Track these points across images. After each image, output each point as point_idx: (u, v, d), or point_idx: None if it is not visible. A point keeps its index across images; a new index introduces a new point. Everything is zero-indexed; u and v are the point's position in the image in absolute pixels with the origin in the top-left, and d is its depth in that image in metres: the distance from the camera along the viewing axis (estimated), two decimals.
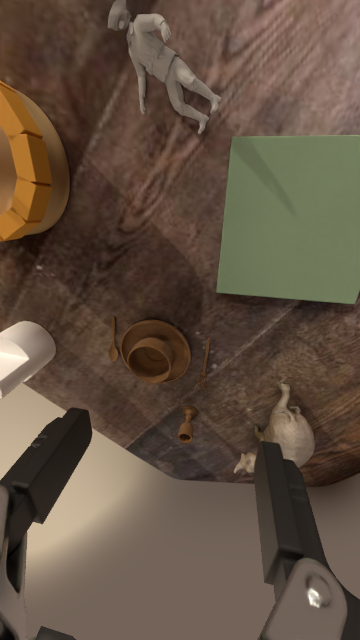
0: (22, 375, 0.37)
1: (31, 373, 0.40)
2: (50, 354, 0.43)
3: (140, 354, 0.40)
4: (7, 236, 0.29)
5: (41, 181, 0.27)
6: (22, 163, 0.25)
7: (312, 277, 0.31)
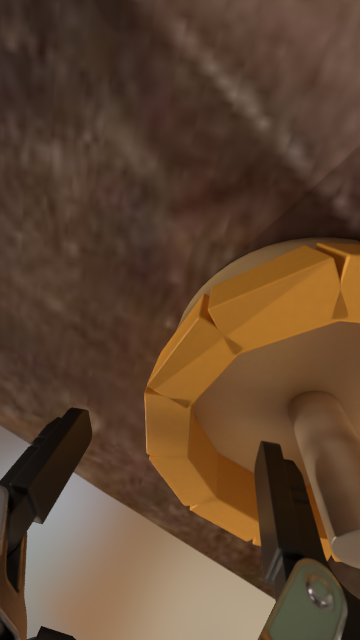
0: None
1: None
2: None
3: None
4: None
5: None
6: None
7: None
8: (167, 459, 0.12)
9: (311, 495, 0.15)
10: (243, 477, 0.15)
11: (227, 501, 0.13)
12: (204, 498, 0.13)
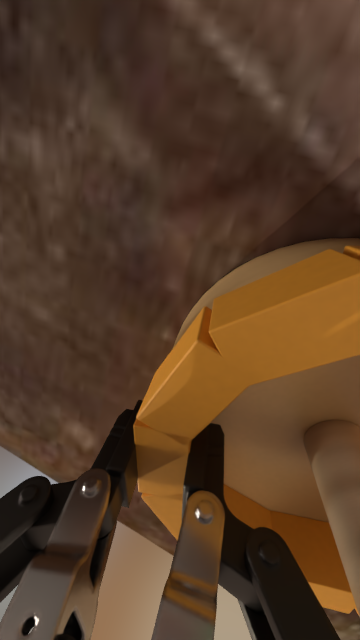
0: None
1: None
2: None
3: None
4: None
5: None
6: None
7: None
8: (162, 498, 0.11)
9: (329, 534, 0.13)
10: (250, 512, 0.13)
11: None
12: None
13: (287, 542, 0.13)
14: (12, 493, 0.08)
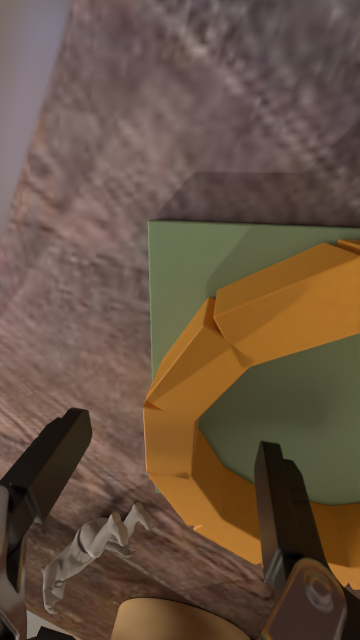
0: None
1: None
2: None
3: None
4: None
5: None
6: None
7: None
8: (168, 477, 0.11)
9: (325, 515, 0.14)
10: (251, 494, 0.14)
11: (234, 522, 0.12)
12: (208, 519, 0.12)
13: None
14: None
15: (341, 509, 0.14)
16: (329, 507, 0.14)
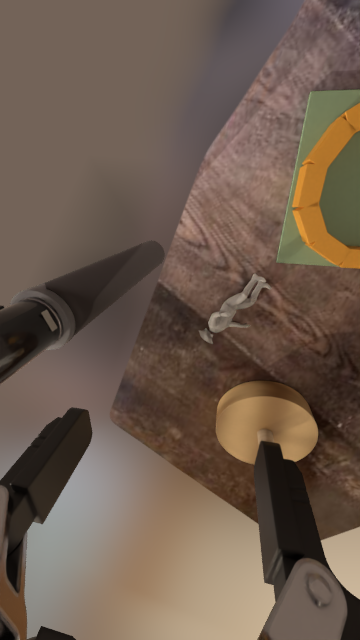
0: None
1: None
2: None
3: None
4: None
5: None
6: None
7: None
8: (307, 208, 0.27)
9: None
10: None
11: (332, 236, 0.28)
12: (320, 235, 0.28)
13: (351, 247, 0.29)
14: None
15: None
16: None
